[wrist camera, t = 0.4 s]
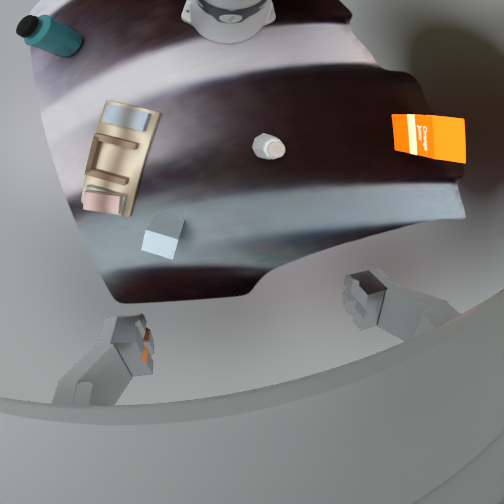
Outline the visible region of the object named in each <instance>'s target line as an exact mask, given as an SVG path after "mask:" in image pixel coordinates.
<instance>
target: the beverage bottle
mask: <svg viewBox="0 0 504 504" xmlns="http://www.w3.org/2000/svg"><path fill="white" fill-rule="evenodd" d="M16 33H17V34H18V35H20V36H21V37H24V40H25V43H26V44H27V45H30V46H34V47H37V48H40V50H41V49H42V50H45V51H46V52H47V51H48V52H50V53H53V54H57V55H60V56H63V57H67V56H70V55H72V54H73V53H75V52H76V51H77V50H78V48H79V47H80V45H81V41H82V38H81V35H80V33H78V31H76V30H75V29H73V28H72V29H71V27H69V26H66V25H65V24H63V23H61V22H59V21H57V20H55V19H53V18H51V17H50V16H48V15H42V16H39V17H36V16H32V15H28V16H26V17H24V18H23V19H22V20H21V21H20V23H19V24H18V26H17V29H16Z"/></svg>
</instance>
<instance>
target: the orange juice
mask: <svg viewBox="0 0 504 504" xmlns="http://www.w3.org/2000/svg"><path fill="white" fill-rule="evenodd" d="M392 121H393V131H394V143H395V150H397V151H402V152H407V153H411V154H415V155H420V156H425V157H429V158H433V159H440V160H447V161H454V162H460V163H466V155H465V154H466V150H465V127H464V119H460V118H451V117H442V116H430V115H411V114H407V115H403V114H392Z"/></svg>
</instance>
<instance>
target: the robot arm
mask: <svg viewBox="0 0 504 504" xmlns="http://www.w3.org/2000/svg"><path fill="white" fill-rule="evenodd" d="M187 11H189V13H187ZM181 18H182V20H183V21H184V22H186V23H188V24H191V25H192V26H194V27H195V29H196V30H197V31H198V32H199V33H200V34H201V35H202V36H203V37H205V38H207V39H209V40H211V41H214V42H217V43H225V44H231V43H238V42H242V41H245V40H247V39H249V38H251V37H253V36H254V35H255V34H256V33H257V32H258V31H259V30H260V29H261V28H262V27H263V26H265V25H268V24H270V23H272V22H274V21H275V18H276V15H275V11H274V7H273V3H272V0H187V1H186V4H185V7H184V9H183V12H182V15H181ZM344 285H345V286H346V289H345V291H344V292H343V297H342V301H343V306H344V308H345V310H346V312H347V313H348V314H350V315H352V316H354V317H353V321H354V323H355V324H356V325H357V327H358V328H359V329H360V330H363V329H367V328H370V327H373V326H378V327H380V328H382V329H383V330H385V331H387V332H389V333H391V334H393V335H394V336H396V337H398V338H400V339H401V340H403V341H405V342H403V343H401V344H399V345H396V346H394V347H391V348H389V349H386V350H384V351H381V352H379V353H376V354H374V355H371V356H368V357H365V358H363V359H360V360H357V361H354V362H351V363H348V364H345V365H342V366H339V367H336V368H333V369H330V370H327V371H323V372H320V373H317V374H313V375H310V376H306V377H303V378H299V379H295V380H292V381H288V382H284V383H280V384H276V385H271V386H267V387H262V388H258V389H253V390H248V391H243V392H238V393H233V394H227V395H221V396H215V397H209V398H202V399H194V400H187V401H178V402H168V403H156V404H143V405H142V404H141V405H117V406H114V405H115V404H116V402H117V400H118V399H119V397H120V396H121V394H122V393H123V391H124V390H125V388H126V387H127V385H128V384H129V382H130V381H131V380H132V378H133V376H142V375H150V374H153V359H152V358H151V355H152V354H153V353H154V341H153V337H152V334H151V331H150V330H149V329H148V328H147V327H146V319H145V317H144V315H143V314H141V313H140V314H131V315H122V316H115V317H108V318H106V320H105V323H104V326H103V330H102V333H101V336H100V340H99V343H98V345H97V346H94V347H93V348H92V349H91V350H90V351H89V352H88V353H87V354H86V355H85V356H84V357H82V358H81V359H80V360H79V361H78V362H77V363H76V364H75V365H74V366H73V367H72V368H71V369H70V370H69V371H68V372H67V373H66V374H65V375H64V376H63V377H62V378H61V379H60V380H59V381H58V384H57V387H56V391H55V394H54V398H53V401H52V404H49V403H38V402H30V401H22V400H15V399H9V398H3V397H0V504H504V289H503V290H501V291H499V292H498V293H497V294H495V295H493V296H492V297H490V298H489V299H487V300H485V301H484V302H482V303H480V304H479V305H477V306H475V307H473V308H472V309H470V310H468V311H466V312H465V313H463V314H459V313H458V312H457V311H456V310H455V309H454V308H453V307H452V306H451V305H450V304H449V303H448V302H447V301H445V300H443V299H440V298H436V297H433V296H430V295H428V294H425V293H421V292H418V291H415V290H413V289H409V288H407V287H403V286H397V285H396V284H395V283H394V282H393V281H392V280H391V279H390V278H389V277H388V276H387V275H385V274H384V273H383V272H382V271H381V270H380V269H379V268H373V269H369V270H366V271H363V272H359V273H355V274H351V275H346V277H345V280H344Z"/></svg>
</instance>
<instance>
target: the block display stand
mask: <svg viewBox="0 0 504 504" xmlns="http://www.w3.org/2000/svg"><path fill="white" fill-rule="evenodd" d="M160 115H161V113H159V112H155V111H151V110H147V109H143V108H139V107H134V106H130V105H126V104H121V103H116V102H111V101H106V103H105V106H104V109H103V112H102V115H101V118H100V122H99V125H98V128H97V132H96V133H95V134H94V138H93V141H92V145H91V149H90V153H89V157H88V162H87V166H86V171H85V175H86V177H85V182H84V187H83V193H82V198H81V202H82V203H83V209H84V210H91V211H98V212H105V213H111V214H117V215H120V216H121V215H125V216H128V217H130V216H131V214H132V209H133V205H134V201H135V197H136V193H137V189H138V185H139V182H140V178H141V174H142V171H143V167H144V164H145V161H146V157H147V154H148V151H149V148H150V144H151V141H152V138H153V135H154V132H155V129H156V126H157V124H158V121H159V118H160Z"/></svg>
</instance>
